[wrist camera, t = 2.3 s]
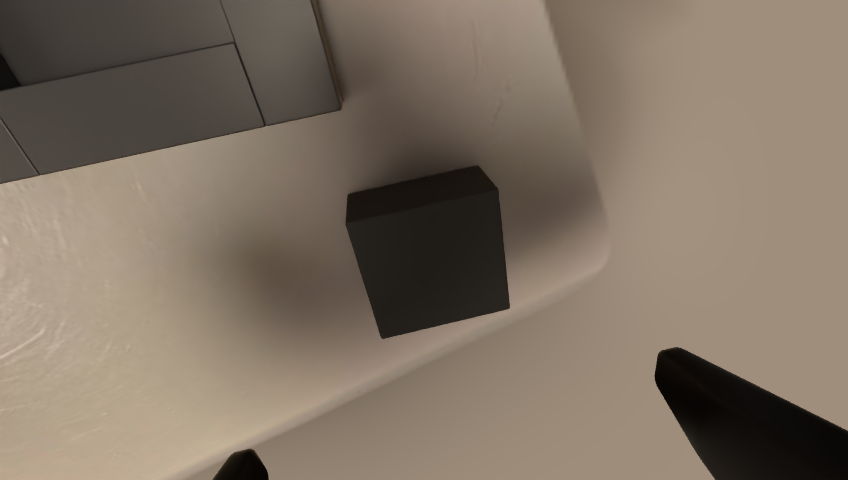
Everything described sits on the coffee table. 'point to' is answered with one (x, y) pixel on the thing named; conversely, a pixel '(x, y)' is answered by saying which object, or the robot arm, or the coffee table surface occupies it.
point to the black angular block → (430, 250)
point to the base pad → (152, 76)
